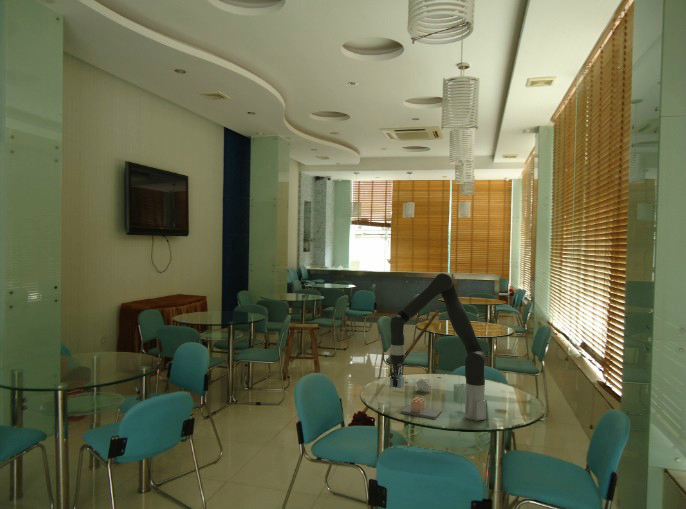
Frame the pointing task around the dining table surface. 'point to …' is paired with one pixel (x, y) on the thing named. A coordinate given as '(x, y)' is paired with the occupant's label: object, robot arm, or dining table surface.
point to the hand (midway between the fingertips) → (397, 385)
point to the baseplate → (425, 413)
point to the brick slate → (398, 382)
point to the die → (424, 384)
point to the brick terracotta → (417, 404)
